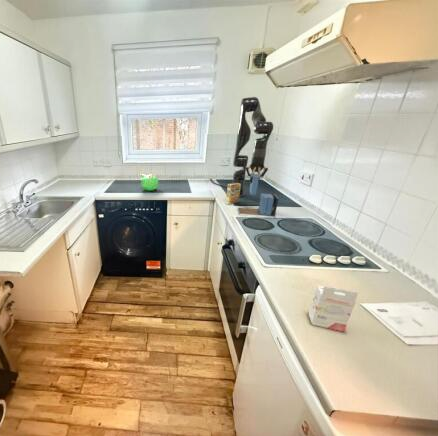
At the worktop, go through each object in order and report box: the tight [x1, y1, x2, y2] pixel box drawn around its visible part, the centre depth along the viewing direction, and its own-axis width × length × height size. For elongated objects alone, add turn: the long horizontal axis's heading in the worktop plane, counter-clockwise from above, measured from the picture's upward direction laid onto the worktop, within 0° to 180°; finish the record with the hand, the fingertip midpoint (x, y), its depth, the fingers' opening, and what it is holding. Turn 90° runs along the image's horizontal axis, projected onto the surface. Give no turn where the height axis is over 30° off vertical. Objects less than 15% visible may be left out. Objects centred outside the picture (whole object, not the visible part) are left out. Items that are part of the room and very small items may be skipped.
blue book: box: [248, 173, 259, 196], centre depth 156 cm, size 3×9×12 cm, turn 165°
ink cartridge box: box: [308, 285, 359, 332], centre depth 72 cm, size 9×5×15 cm, turn 69°
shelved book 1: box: [257, 193, 268, 216], centre depth 159 cm, size 9×3×12 cm, turn 165°
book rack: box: [237, 193, 279, 218], centre depth 160 cm, size 12×22×13 cm, turn 75°
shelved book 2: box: [265, 193, 274, 215], centre depth 158 cm, size 9×3×12 cm, turn 165°
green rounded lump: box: [139, 173, 160, 192], centre depth 215 cm, size 18×17×15 cm
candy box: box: [225, 183, 241, 205], centre depth 179 cm, size 9×4×15 cm, turn 107°
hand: (254, 182), depth 155 cm, fingers closed on blue book, 3 cm apart
